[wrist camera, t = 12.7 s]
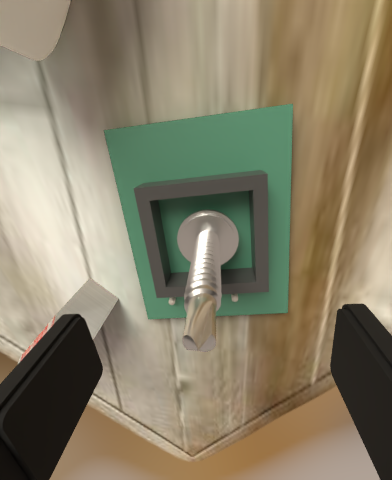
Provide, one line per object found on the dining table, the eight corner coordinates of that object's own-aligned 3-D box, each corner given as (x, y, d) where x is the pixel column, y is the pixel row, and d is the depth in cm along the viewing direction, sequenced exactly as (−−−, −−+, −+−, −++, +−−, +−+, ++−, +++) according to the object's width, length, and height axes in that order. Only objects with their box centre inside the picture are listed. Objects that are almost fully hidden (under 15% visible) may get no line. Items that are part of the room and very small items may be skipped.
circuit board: (288, 106, 18) (304, 97, 15) (284, 305, 25) (295, 331, 21) (110, 130, 20) (87, 128, 16) (151, 311, 26) (141, 337, 23)
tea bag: (118, 298, 26) (65, 385, 17) (86, 332, 28) (22, 425, 19) (90, 277, 25) (17, 356, 16) (59, 314, 27) (-21, 401, 18)
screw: (169, 229, 21) (210, 191, 20) (206, 266, 22) (248, 233, 21) (108, 343, 9) (201, 269, 8) (196, 411, 10) (292, 358, 9)
